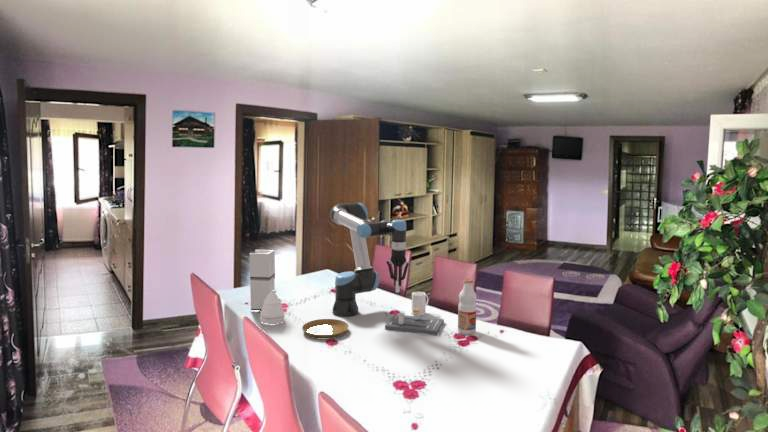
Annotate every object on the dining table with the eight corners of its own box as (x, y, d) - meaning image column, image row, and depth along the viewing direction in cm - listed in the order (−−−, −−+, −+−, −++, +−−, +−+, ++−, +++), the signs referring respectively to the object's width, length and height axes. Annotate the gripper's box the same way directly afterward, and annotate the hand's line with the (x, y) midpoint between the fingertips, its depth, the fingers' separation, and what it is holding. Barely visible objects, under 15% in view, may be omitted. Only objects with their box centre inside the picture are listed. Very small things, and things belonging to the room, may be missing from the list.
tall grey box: (275, 307, 316) (274, 250, 311) (270, 312, 305) (268, 253, 301) (257, 306, 317) (255, 249, 312) (251, 312, 306) (249, 253, 302)
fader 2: (413, 319, 288) (413, 310, 288) (414, 317, 292) (414, 308, 291) (418, 319, 288) (418, 310, 287) (419, 317, 291) (419, 308, 290)
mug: (424, 309, 314) (424, 289, 313) (433, 313, 307) (433, 293, 306) (408, 312, 308) (408, 292, 306) (416, 316, 301) (417, 296, 299)
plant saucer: (330, 344, 259) (330, 337, 258) (292, 335, 271) (292, 328, 271) (357, 329, 279) (357, 323, 279) (321, 321, 292) (321, 316, 291)
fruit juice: (459, 327, 283) (460, 277, 279) (476, 329, 280) (478, 278, 276) (456, 333, 274) (457, 281, 270) (474, 335, 271) (476, 282, 268)
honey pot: (289, 321, 291) (288, 289, 289) (269, 326, 282) (268, 294, 280) (275, 315, 300) (274, 285, 298) (256, 321, 291) (255, 289, 288)
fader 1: (397, 324, 281) (398, 314, 280) (399, 322, 284) (399, 312, 283) (402, 324, 280) (403, 315, 279) (404, 322, 283) (404, 313, 282)
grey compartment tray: (384, 329, 280) (384, 325, 279) (394, 317, 299) (395, 314, 298) (436, 335, 272) (436, 331, 271) (443, 322, 291) (443, 319, 290)
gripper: (384, 249, 278) (383, 292, 282) (408, 251, 274) (407, 295, 278) (389, 246, 285) (388, 288, 289) (412, 248, 281) (411, 291, 285)
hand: (397, 291), depth 283 cm, fingers closed
